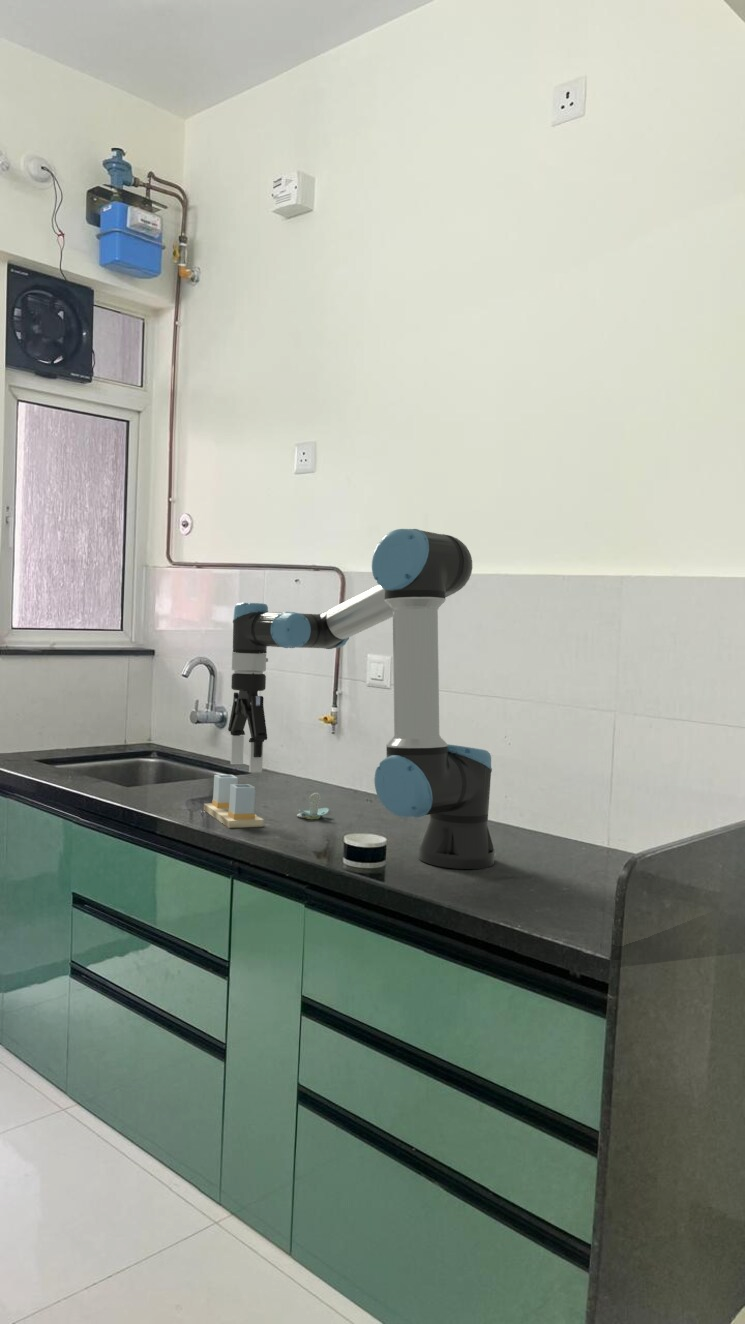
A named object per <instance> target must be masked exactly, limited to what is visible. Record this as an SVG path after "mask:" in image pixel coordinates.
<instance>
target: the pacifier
mask: <svg viewBox="0 0 745 1324" xmlns="http://www.w3.org/2000/svg"><path fill="white" fill-rule="evenodd" d="M320 801H321V795H320V793H319V792H313V793H312V794H310V796H309V798H308V804H309V810H302V809H298V811H299V812H300V813H297V814H296V817H298V818H302V819H303V818H304V819H306V820H319V819H321V817H323V816H326V815H327V814H329V808H328V807H322V808H321V807H320V808H319V804H320Z"/></svg>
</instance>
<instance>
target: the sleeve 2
mask: <svg viewBox="0 0 745 1324" xmlns="http://www.w3.org/2000/svg"><path fill="white" fill-rule="evenodd" d="M255 799H256V787H255V786H254V785H252V784H250V783H244V784H241V783H239V784H230V801H229V810H228V816H230V817H231V818H232V819H234V820H238V819H255V815H256V813H255V804H256V803H255Z"/></svg>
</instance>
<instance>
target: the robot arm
mask: <svg viewBox="0 0 745 1324" xmlns="http://www.w3.org/2000/svg"><path fill="white" fill-rule="evenodd" d="M371 572H372V576H373V578H374V580H375V581H376V583H377V584H376V585H375V586H373V587H371V588H368V589H366V590H365V591H362V592H361V593H359V594H357V595H355V596H353V597H350V598H349V599H347V600H345V601H343V602H341V603H339V604H337V605H335V606H333V607H331V608H329V609H327V610H325V611H323V612H321V613H318V614H316V613H301V612H300V613H299V612H293V611H284V612H283V611H282V612H281V611H279V612H277V611H276V612H273V611H272V612H269V606H268V605H267V604H266V603H260V602H237V603H236V604H235V605H234V611H233V619H232V654H231V670H232V671H234V672H233V673H232V674H231V690H233V691H237V692H233V702H232V706H231V707H232V708H231V712H230V718H229V723H228V728H227V730H228V732H230V735H231V737H230V742H231V743H230V765H243V764H244V743H245V742H244V741H245V740H244V739H245V737H244V736H245V735H246V732H245V730H244V729H245V726H246V723H247V724H248V728H249V733H250V738H249V740H248V742H249V759H248V760H249V765H248V766H249V768H248V772H249V773H263V760H264V759H263V758H264V753H263V752H264V742H265V741H267V739H268V734H267V732H268V731H267V723H266V718H265V717H266V716H265V709H264V708H265V707H264V696H263V695H259V694H258V692H263V691H265V690H266V684H267V682H266V680H267V675H266V674H265V673H264V672H266V671H267V663H268V662H269V658H268V657H267V653H268V652H267V650H268V649H267V648H268V647H271V648H273V647H274V648H284V649H288V648H289V649H295V648H299V649H300V648H302V649H305V648H306V649H308V648H309V649H324V650H325V649H326V650H332V649H339V648H342V647H344V646H345V645H346V643H347V642H348V641H349V639H350V638H351V637H352V636H355V635H357V634H360V633H361V632H363V631H365V630H368V629H370V628H372V627H374V626H376V625H378V624H380V623H382V622H385V621H387V620H389V619H391V618H392V655H393V658H392V659H393V662H392V663H393V665H392V666H393V669H392V671H393V724H394V725H393V731H394V734H393V737H392V738H391V739H390V741H388V743H387V744H386V758H384V759H383V760H382V761H380V762H379V766H377V767H376V769H375V773H374V781H373V782H374V789H375V792H376V795H377V798H378V800H379V801H380V803H381V805H383V806H384V807H385V809H386V810H387V812H389V813H391V814H392V815H394V816H397V817H400V818H421V817H425V816H428V815H429V819H428V823H427V825H426V828H425V831H424V833H423V836H422V838H421V840H420V844H419V846H418V847H419V848H418V859H419V860H420V861H422V862H423V863H426V864H429V865H433V866H437V867H441V868H449V869H458V870H477V869H485V868H489V867H491V866H493V865H494V864H495V849H494V844H493V840H492V836H491V833H490V828H489V825H488V824H489V823H488V821H489V809H490V807H489V806H490V796H491V795H490V794H491V792H490V791H491V778H492V777H491V776H492V772H493V768H492V755H491V753H490V752H489V751H488V750H486V749H482V748H481V749H480V748H475V747H469V746H463V745H457V744H456V745H455V744H449V743H447V742H446V741H445V740H444V739H443V738H442V737H441V735H440V697H439V696H440V687H439V685H440V684H439V683H440V681H439V679H440V677H439V676H440V675H439V670H440V669H439V623H438V622H439V621H438V620H439V615H438V614H439V613H438V611H439V608H440V607H441V606H442V605H443V604H444V603H446V598H448V597H451V596H452V595H455V594H456V593H457V592H459V591H460V590H462V589H464V587H465V586H466V585H467V583H468V581H469V580H470V578H471V576H472V572H473V558H472V555H471V552H470V550H469V549H468V547H467V545H466V544H465V543H464V542H462V540H461V539H458V538H457V537H454V536H452V535H450V534H444V533H436V532H431V531H426V530H421V529H419V528H397V529H395V530H391V531H390V532H388V533H387V534H385V535H383V536H382V538H381V541H380V542H378V543H377V545H376V546H375V549H374V552H373V554H372V558H371ZM238 691H239V692H238Z"/></svg>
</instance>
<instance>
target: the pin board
mask: <svg viewBox="0 0 745 1324" xmlns="http://www.w3.org/2000/svg"><path fill="white" fill-rule="evenodd" d="M204 810H205V811H204ZM228 810H229V808H217V807H215V806H214V805H212V802H211V803H203V811H204V812H206V813H208V814H209V815H210V816H212V817H213V818H214V819H215V820H217V821H218V822H220V823H221V824H222V823H223V824H222V825H224V826H225V827H227V828H228V829H231V828H233V829H234V828H259V827H264V821H265V819H264V818H262V817H260V816H258V815H257V814H255V819H238V820H234V819H232V818H231V817H230V816H228Z"/></svg>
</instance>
